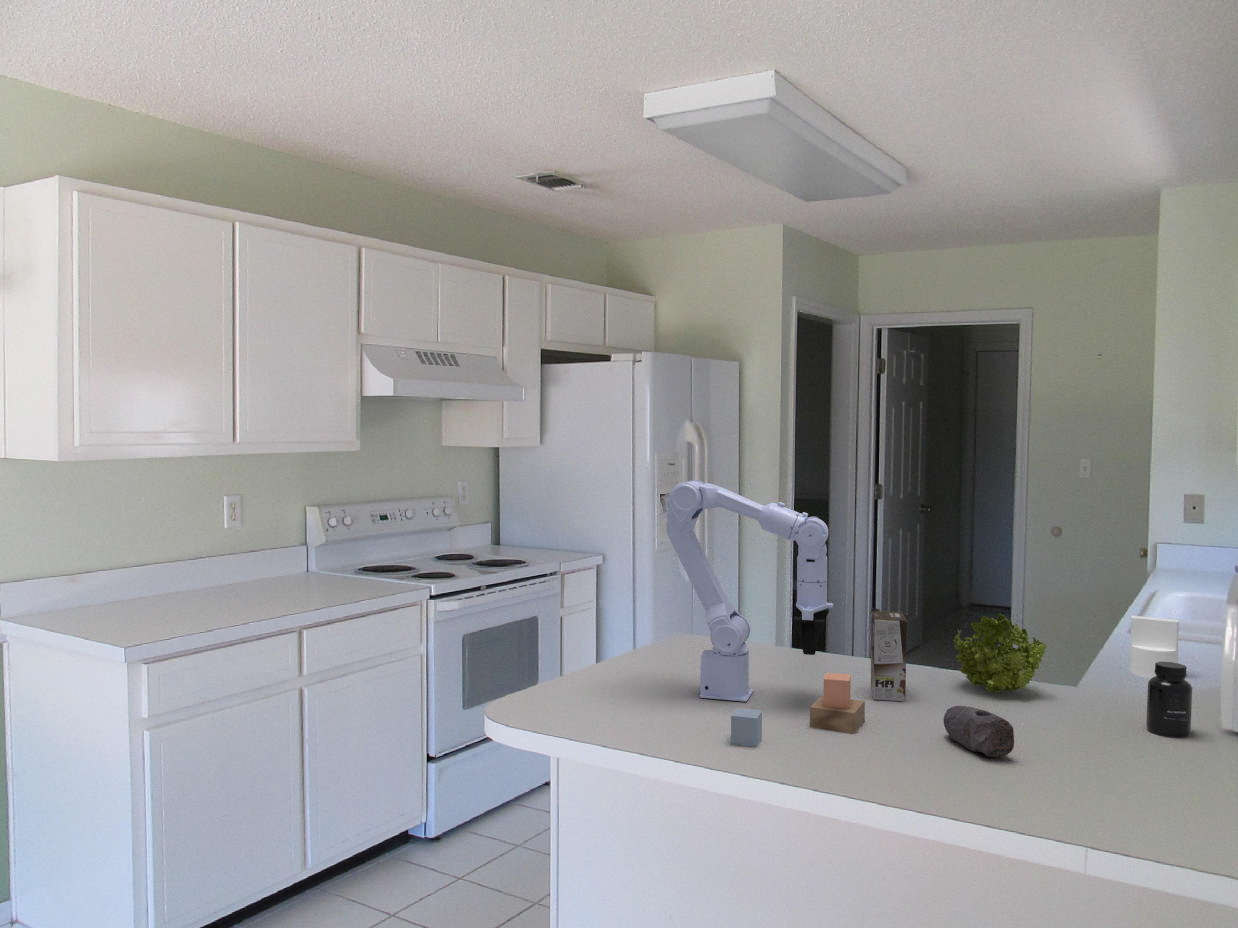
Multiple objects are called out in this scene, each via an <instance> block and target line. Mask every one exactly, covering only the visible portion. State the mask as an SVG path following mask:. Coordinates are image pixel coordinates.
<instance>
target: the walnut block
mask: <svg viewBox="0 0 1238 928" xmlns="http://www.w3.org/2000/svg"><path fill="white" fill-rule="evenodd" d="M865 708H866V701H865V700H859V699H852V698H850V707H849V709H847V708H834V707H824V695H821V696H820V697H819V698H817V700H815V702H814V703H813V704H812V705H810V706H809V728H813V729H818V730H819V729H820V730H824V731H825V730H827V731H833V732H839V733H847V734H856V733H857V732H858V730H859V729H860V727H862V725H863V724H864V723H865V717H866V711H865V710H866V709H865Z"/></svg>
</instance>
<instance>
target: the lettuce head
mask: <svg viewBox="0 0 1238 928" xmlns="http://www.w3.org/2000/svg"><path fill="white" fill-rule="evenodd" d="M970 626H971V627H972V630H973V633H974V634H973V635H972V638H971V637H969V636H966V637H965V638H964V640H965V641H964V640H962V639H961V634H962V628H961V629H960V630H959V629H957V632H958V633H957V634H955V637H954V639H953V642H954V648H955V649H956V651H958V652H959V654H957V656H956V657H955V659H956V660H957V661H958V663H960V664H961V667H960V668H959V671H960V672H961V673H962V674H963V675H966V676H965V677H966V679H967V680H968V681H969V682H971V684H972V686H973V685H974V686H976V687H977V686H978V687H979V686H980V687H981V685H982V687H984V686H985V689H986V691H987V692H988V693H993V694H995V693H1002V692H1003V691H1008V692H1012V691H1017V690H1019V689H1026V686H1027V685H1028V684H1029V685H1030V681H1031V682H1032V680H1033V679H1032V678H1033V677H1035V676H1036V673H1035V672H1036V670H1039V669H1040V666H1039V663H1042V662H1043V661H1042V658H1044V654H1045V652H1046V650H1047V649H1046V648H1047V645H1046V644H1045V643H1044V642H1040V640H1039V639H1036V637H1035V636H1034V637H1032V640H1033V642H1031V643H1029V639H1030V637H1029V633H1028V631H1027V629H1026V628H1022V629H1021V628H1020V626H1019V625H1018V624H1017V623H1015V624H1014V623H1013V622H1012V621H1011V620H1009V619H1008V618H1007V617H1006V616H1005V615H1004V614H1001V613H998V616H997V617H996V619H994V618H993V617H992V618H990V617H988V616H986V615H982V616H981V619H980V622H974V621H972V622H970ZM980 637H981V638H980ZM973 639H974V640H973ZM979 639H980V640H979ZM998 643H1000V644H998ZM997 644H998V645H997ZM1047 644H1048V643H1047ZM996 645H997V647H996ZM1014 645H1016V646H1017V647H1016V648H1015V647H1014ZM1048 645H1049V644H1048Z"/></svg>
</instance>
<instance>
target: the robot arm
mask: <svg viewBox="0 0 1238 928" xmlns="http://www.w3.org/2000/svg"><path fill="white" fill-rule="evenodd" d="M665 504H666V509H667V511H666V524H665V525H666V529H665V532H666V535H667V537H668V539H669V541H670V543H671V544H672V547H673V549H674V551H675V552H676V555H677V557H678V559H679V561H680V563H681V565H682V567H683V570H684V571H685V573H686V574H687V577H688V579H689V581H690V582H691V585H692V587H693V589H694V590H695V593H696V596H697V597H698V599H699V601H700V602H701V604H702V607H703V608H704V611H705V615H706V616H705V617H706V624H707V626H708V628H709V630H710V642H711V645H712V649H704V650H703V651H702V653H701V656H700V668H699V669H700V678H699V679H700V680H699V681H700V690H699V692H700V694H699V698H700V699H701V698H702V699H713V700H724V701H735V702H743V703H744V702H747V701H748V700H749V698H750V697H751V696H752V694H753V693H754V689H753V688H750V687H749V686H750V685H749V681H750V678H749V677H750V673H749V672H750V670H749V669H750V666H749V665H750V661H749V659H750V655H749V654H750V652H749V651H750V648H748V646H747V644H746V641H747V640H748V638H749V636H750V634H751V627H750V623H749V622H748V620H747V619H746V618H745V617H744V616H742V615H741V614H740V613H739V612H738V609H737V608H736V605H734V604H733V602H731V601H730V600H729V599H728V596H727V595H726V592H725V591H724V588H723V586H722V585H721V582H720V581H719V578H718V577H717V575H716V573H715V571H714V568H713V567H712V564H711V563H710V561H709V559H708V557H707V555H706V553H705V551H704V549H703V547H702V546H701V542H700V541H699V539H698V537H697V535H696V534H695V531H694V529H695V527H696V524H697V521H698V518H699V516H700V515H701V513H702V512H703V511H704V510H709V509H715V508H722V509H724V510H727V511H730V512H733V513H736V514H738V515H741V516H744V517H746V518H750V519H752V520H755V521H757V522H758V524H759V526H760V528H761V530H763V531H765V532H768V533H770V534H773V535H775V536H777V537H780V538H783V539H785V540H788V541H790V542H794V541H795V542H796V544H797V546H798V548H797V550H798V554H797V558H796V566H797V567H796V571H797V572H796V573H797V574H796V577H797V578H796V602H795V606H796V609H798V610H799V612H800V614H801V616H794V617H793V623H794V625H795V626H796V629H797V632H798V634H799V638H800V642H801V643H800V644H801V650H802V654H803V655H805V656H806V655H809V656H815V655H816V652H817V647H819V646H820V644H821V640H822V635H823V634H822V633H823V631H824V630H823V629H824V625H825V621H826V619H827V617H828V615H829V613H830V609H832V608H834V603H833V602H828V556H827V552H828V548H827V543H826V542H827V540H828V537H829V528H828V525H827V524H826V522H824V521H823V520H822V519H821V518H819V517H818V516H809V513H807V512H806V511H804V512H802V513H800V512H798V511H796V510H792V509H790V508H787V507H786V503H784V502H781V501H779V502H778V503H775V502H770V503H768V504H765V505H762V504H761V503H759V502H757V501H754V500H751V499H749V498H747V497H745V496H743V495H740V494H738V493H736V492H733V491H731V490H729V489H726V488H724V487H722V486H719V485H717V484H713V483H709V482H707V483H706V482H704V481H701V480H700V479H691V480H688V481H686V482H680V483H678V484H676V485H675V486H674V487H673V488H672V489H671V491H670V493H669V496H668V497H667V499H666V502H665ZM808 516H809V517H808Z"/></svg>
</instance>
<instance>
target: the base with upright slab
mask: <svg viewBox="0 0 1238 928" xmlns="http://www.w3.org/2000/svg"><path fill="white" fill-rule="evenodd" d="M1179 625H1180V621H1179V619H1173V618H1164V617H1163V618H1162V617H1155V616H1154V617H1153V616H1143V615H1142V616H1140V615H1131V616H1130V645H1129V647H1130V653H1129V654H1130V656H1129V657H1130V658H1129V673H1131V674H1132V675H1134V676H1136V677H1137V676H1138V677H1142V678H1146V679H1151V678H1152V677H1155V676H1156V674H1155V673H1154V670H1155V663H1156V662H1173V663H1179V637H1180V636H1179V635H1180V634H1179V631H1180V630H1179V629H1180V626H1179Z"/></svg>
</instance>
